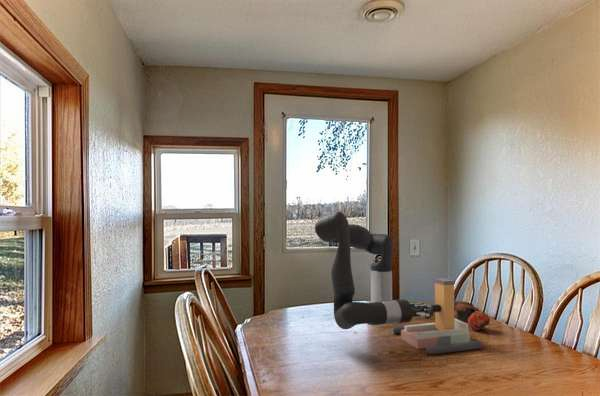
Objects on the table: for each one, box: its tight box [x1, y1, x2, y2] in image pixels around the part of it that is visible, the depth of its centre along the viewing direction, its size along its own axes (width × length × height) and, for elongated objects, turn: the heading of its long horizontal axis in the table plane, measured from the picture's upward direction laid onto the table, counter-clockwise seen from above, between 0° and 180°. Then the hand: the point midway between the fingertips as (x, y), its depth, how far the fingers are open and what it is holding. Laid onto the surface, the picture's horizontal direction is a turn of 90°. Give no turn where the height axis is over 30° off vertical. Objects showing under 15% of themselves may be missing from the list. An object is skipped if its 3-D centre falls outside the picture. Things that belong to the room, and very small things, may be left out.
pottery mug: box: [454, 300, 480, 324], centre depth 154 cm, size 12×10×8 cm
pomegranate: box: [467, 310, 491, 334], centre depth 141 cm, size 7×7×10 cm
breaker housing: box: [400, 318, 471, 350], centre depth 130 cm, size 20×10×6 cm, turn 106°
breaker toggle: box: [433, 277, 456, 330], centre depth 132 cm, size 4×5×17 cm
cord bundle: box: [392, 325, 405, 335], centre depth 140 cm, size 20×2×2 cm, turn 106°
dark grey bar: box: [425, 340, 483, 356], centre depth 121 cm, size 20×2×2 cm, turn 106°
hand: (439, 307), depth 131 cm, fingers closed
